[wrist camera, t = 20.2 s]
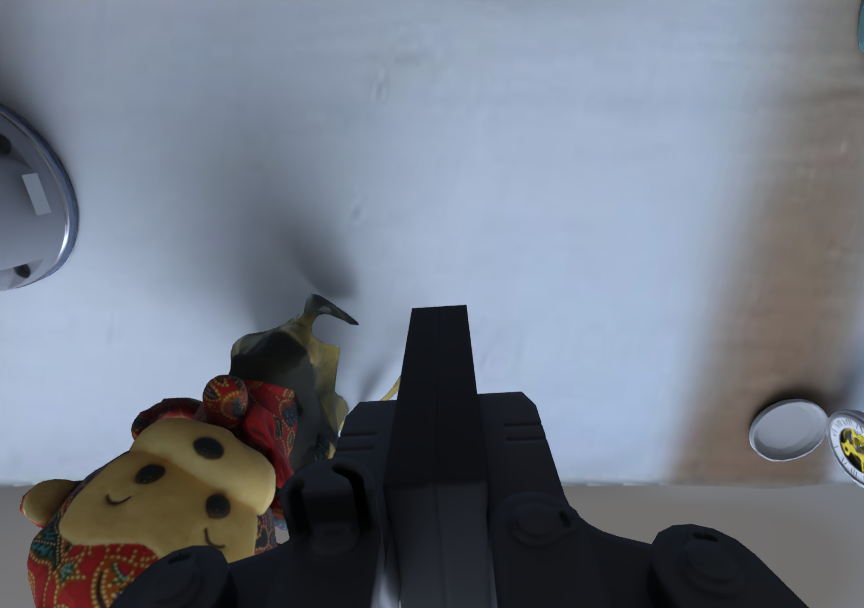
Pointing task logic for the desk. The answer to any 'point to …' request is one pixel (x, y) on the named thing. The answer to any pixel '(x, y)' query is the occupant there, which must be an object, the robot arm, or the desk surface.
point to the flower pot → (861, 28)
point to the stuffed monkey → (194, 470)
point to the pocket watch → (809, 434)
